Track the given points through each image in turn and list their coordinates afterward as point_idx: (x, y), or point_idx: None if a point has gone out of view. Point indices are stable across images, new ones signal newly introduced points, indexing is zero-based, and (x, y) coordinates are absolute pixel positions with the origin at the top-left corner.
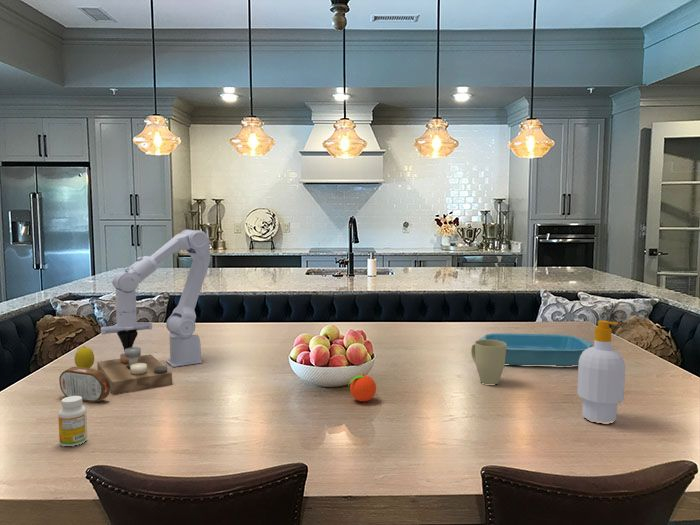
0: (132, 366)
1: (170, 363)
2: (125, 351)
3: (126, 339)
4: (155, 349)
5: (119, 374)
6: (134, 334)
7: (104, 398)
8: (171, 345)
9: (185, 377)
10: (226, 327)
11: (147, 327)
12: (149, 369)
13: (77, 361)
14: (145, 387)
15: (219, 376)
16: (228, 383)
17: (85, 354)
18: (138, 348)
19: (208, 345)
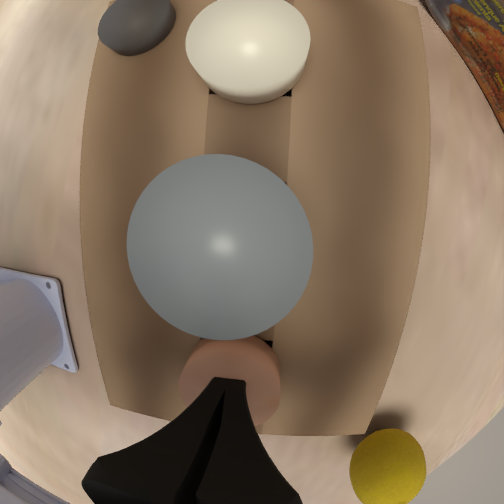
0: (297, 29)
1: (62, 321)
2: (311, 235)
3: (227, 466)
4: None
5: (369, 99)
6: (117, 474)
7: (427, 2)
8: (6, 355)
9: (60, 102)
10: (10, 464)
11: (9, 480)
12: (169, 99)
13: (421, 449)
14: None
15: (3, 76)
16: (27, 6)
17: (406, 469)
18: (148, 236)
19: (5, 410)
